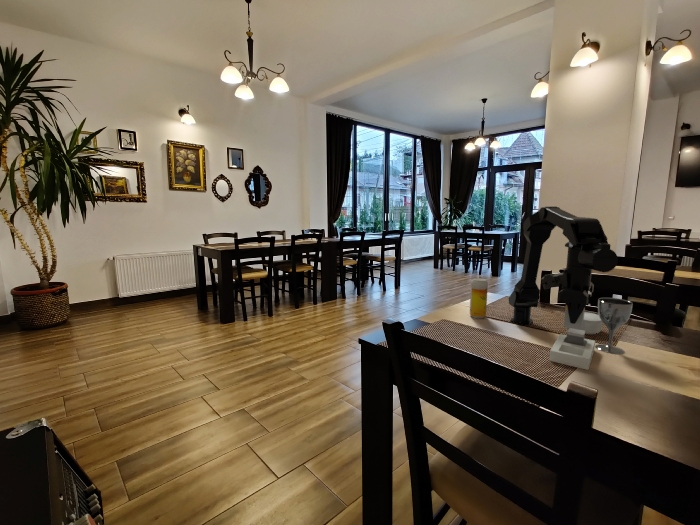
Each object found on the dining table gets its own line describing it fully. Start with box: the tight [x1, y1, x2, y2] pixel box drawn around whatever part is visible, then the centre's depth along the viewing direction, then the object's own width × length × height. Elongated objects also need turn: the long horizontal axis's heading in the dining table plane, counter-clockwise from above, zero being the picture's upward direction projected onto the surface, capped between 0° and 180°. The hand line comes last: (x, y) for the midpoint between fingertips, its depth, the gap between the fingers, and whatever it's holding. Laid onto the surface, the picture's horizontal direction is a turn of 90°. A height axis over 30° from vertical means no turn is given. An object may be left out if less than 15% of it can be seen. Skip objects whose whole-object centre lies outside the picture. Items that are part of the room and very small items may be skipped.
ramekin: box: [572, 311, 604, 335], centre depth 117 cm, size 11×11×5 cm
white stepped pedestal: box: [549, 328, 596, 371], centre depth 96 cm, size 16×9×6 cm, turn 140°
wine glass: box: [594, 297, 634, 355], centre depth 100 cm, size 8×8×15 cm
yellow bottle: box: [469, 277, 489, 319], centre depth 132 cm, size 6×6×15 cm
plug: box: [563, 304, 586, 330], centre depth 92 cm, size 4×4×6 cm
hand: (573, 321), depth 92 cm, fingers closed on plug, 4 cm apart
